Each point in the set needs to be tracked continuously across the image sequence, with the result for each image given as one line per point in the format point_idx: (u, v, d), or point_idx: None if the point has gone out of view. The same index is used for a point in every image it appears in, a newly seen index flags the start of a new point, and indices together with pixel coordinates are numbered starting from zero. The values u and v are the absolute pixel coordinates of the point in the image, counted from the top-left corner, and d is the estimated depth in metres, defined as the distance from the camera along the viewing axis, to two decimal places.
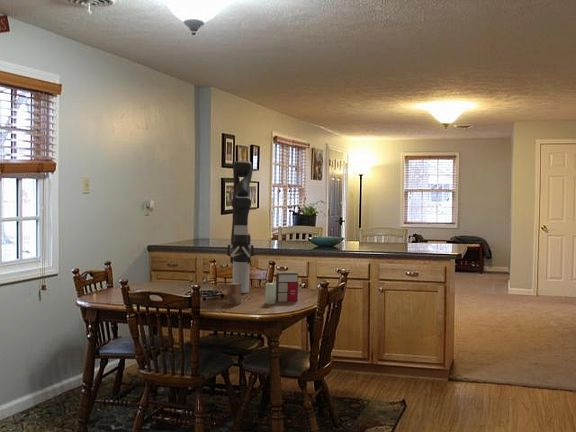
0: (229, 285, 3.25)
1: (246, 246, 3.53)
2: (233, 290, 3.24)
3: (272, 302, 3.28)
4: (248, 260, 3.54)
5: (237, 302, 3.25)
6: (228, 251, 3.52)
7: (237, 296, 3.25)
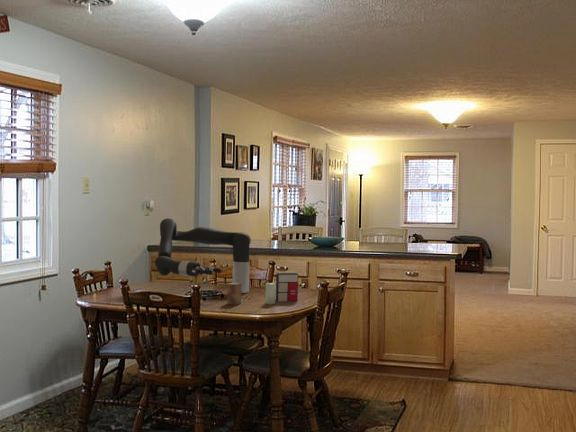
0: (229, 285, 3.25)
1: None
2: (233, 290, 3.24)
3: (272, 302, 3.28)
4: (217, 268, 3.36)
5: (237, 302, 3.25)
6: (198, 269, 3.28)
7: (237, 296, 3.25)
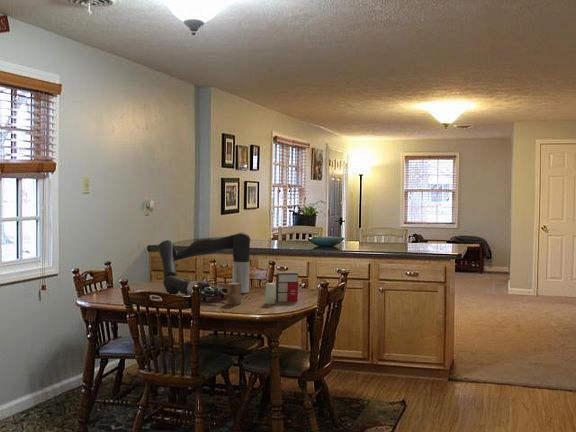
0: (229, 285, 3.25)
1: None
2: (233, 290, 3.24)
3: (272, 302, 3.28)
4: None
5: (237, 302, 3.25)
6: (207, 290, 3.26)
7: (237, 296, 3.25)
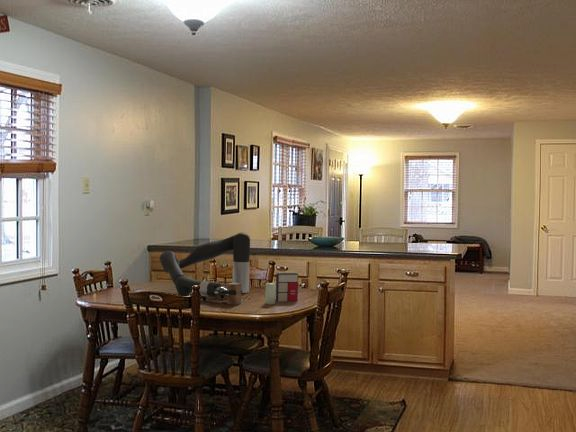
0: (229, 285, 3.25)
1: None
2: (233, 290, 3.24)
3: (272, 302, 3.28)
4: None
5: (237, 302, 3.25)
6: (221, 290, 3.24)
7: (237, 296, 3.25)
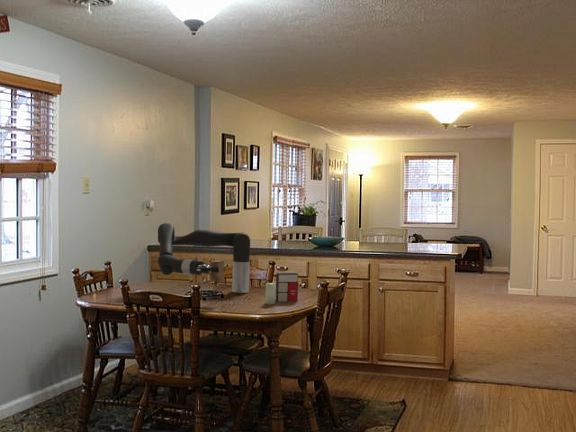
0: (211, 262, 3.23)
1: None
2: (215, 267, 3.22)
3: (272, 302, 3.28)
4: None
5: (220, 280, 3.24)
6: (204, 267, 3.22)
7: (219, 274, 3.23)
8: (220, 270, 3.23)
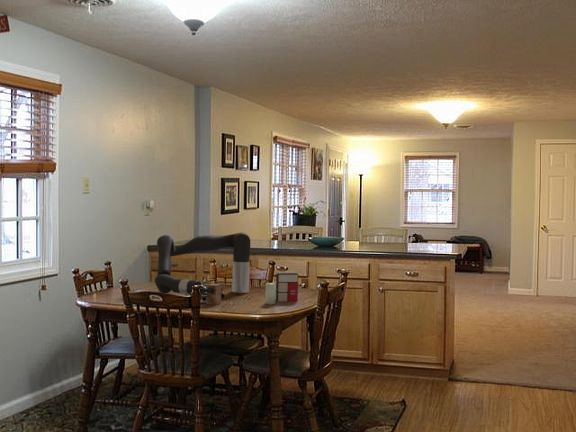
0: (209, 285, 3.24)
1: None
2: None
3: (272, 302, 3.28)
4: None
5: (217, 303, 3.24)
6: (200, 288, 3.22)
7: (216, 297, 3.23)
8: (217, 294, 3.24)
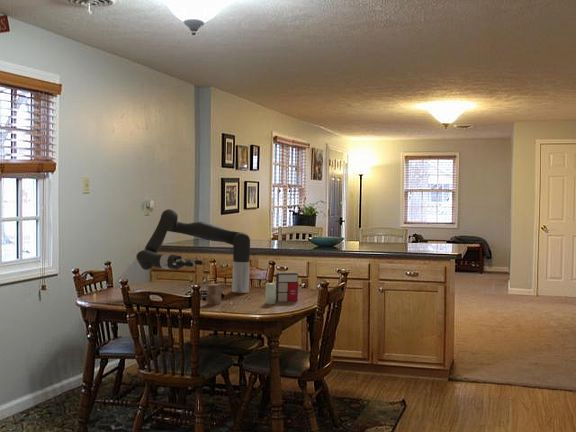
0: (209, 286, 3.24)
1: None
2: (212, 291, 3.23)
3: (272, 302, 3.28)
4: (199, 260, 3.34)
5: (217, 303, 3.24)
6: (179, 261, 3.26)
7: (216, 297, 3.23)
8: (217, 294, 3.24)
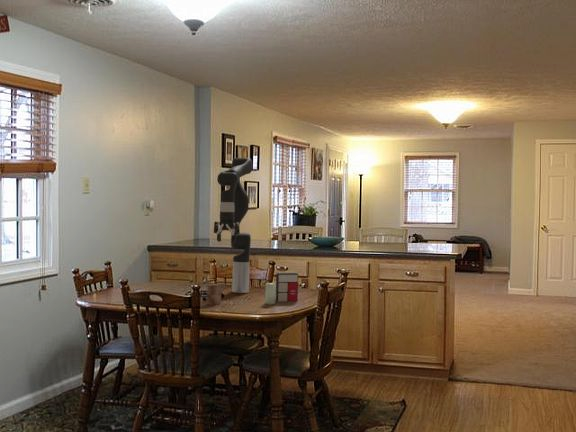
0: (209, 286, 3.24)
1: None
2: (212, 291, 3.23)
3: (272, 302, 3.28)
4: None
5: (217, 303, 3.24)
6: None
7: (216, 297, 3.23)
8: (217, 294, 3.24)
